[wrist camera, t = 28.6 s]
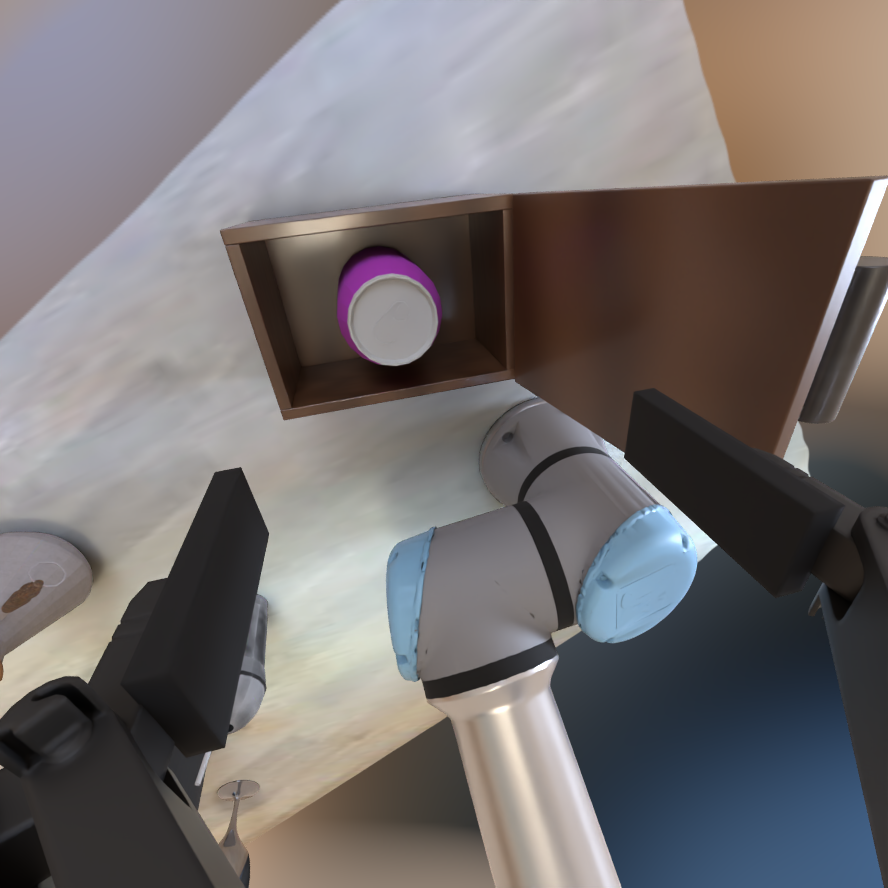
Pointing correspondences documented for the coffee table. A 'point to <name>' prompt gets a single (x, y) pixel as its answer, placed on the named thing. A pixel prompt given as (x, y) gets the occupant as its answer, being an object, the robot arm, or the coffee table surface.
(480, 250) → the chest
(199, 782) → the beverage cup
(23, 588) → the coffee pot
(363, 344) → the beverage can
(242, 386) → the coffee table surface
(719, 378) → the lid
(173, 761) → the pen holder
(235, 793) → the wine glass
